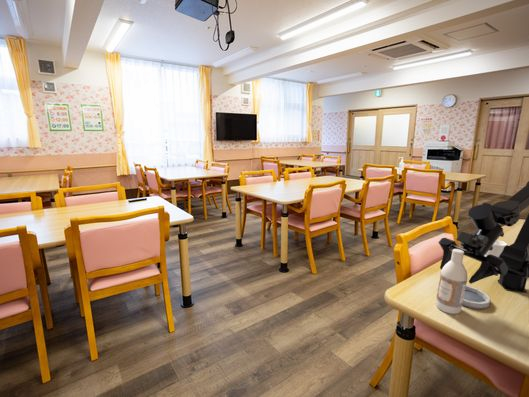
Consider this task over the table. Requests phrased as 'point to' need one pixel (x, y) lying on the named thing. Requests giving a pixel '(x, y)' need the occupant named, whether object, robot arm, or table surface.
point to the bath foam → (452, 284)
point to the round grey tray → (475, 298)
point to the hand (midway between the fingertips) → (454, 275)
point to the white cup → (496, 248)
